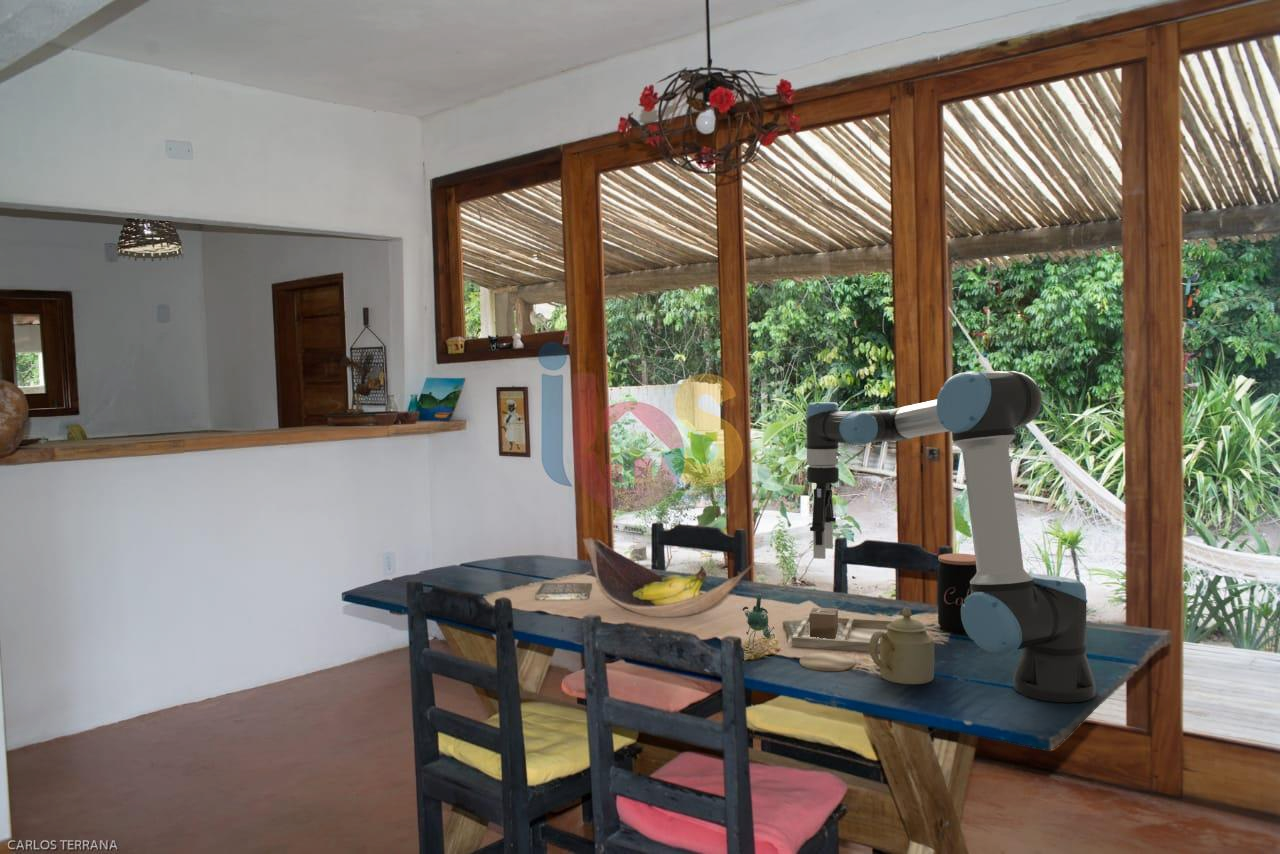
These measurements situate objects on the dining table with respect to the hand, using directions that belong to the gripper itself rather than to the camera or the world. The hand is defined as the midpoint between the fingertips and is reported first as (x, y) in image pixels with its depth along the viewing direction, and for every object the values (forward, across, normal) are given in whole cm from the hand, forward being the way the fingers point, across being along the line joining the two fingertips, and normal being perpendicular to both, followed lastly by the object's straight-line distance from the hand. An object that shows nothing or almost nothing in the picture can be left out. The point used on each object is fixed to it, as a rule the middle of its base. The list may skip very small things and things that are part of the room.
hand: (823, 553), depth 237 cm
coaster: (+21, -21, -4) cm, 30 cm away
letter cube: (+20, 0, 0) cm, 20 cm away
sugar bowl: (+21, -28, -20) cm, 41 cm away
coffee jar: (+21, +17, -32) cm, 41 cm away
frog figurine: (+21, -16, +12) cm, 29 cm away
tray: (+21, 0, -6) cm, 21 cm away
